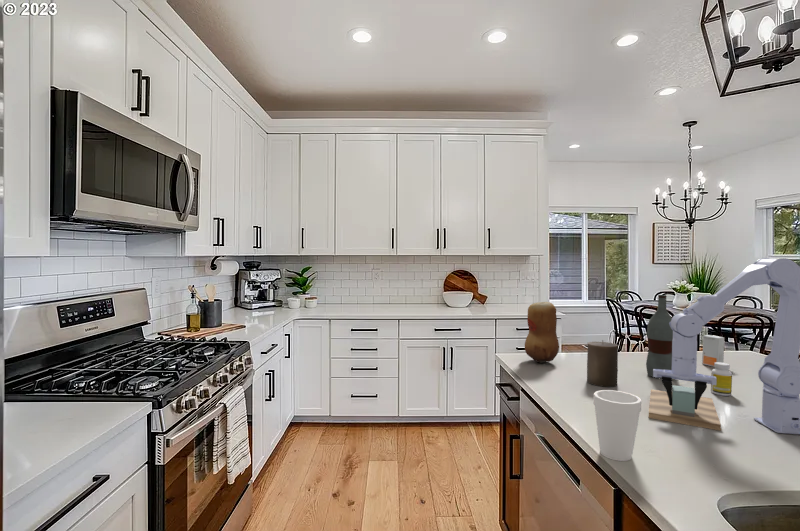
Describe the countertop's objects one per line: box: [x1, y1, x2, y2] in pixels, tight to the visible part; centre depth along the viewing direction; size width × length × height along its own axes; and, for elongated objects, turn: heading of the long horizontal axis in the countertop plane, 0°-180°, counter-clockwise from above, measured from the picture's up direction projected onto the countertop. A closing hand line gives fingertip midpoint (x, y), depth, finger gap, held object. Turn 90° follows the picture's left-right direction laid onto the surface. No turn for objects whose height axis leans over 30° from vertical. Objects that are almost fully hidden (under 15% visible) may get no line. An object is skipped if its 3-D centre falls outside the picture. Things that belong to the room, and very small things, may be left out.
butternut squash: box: [524, 301, 560, 364], centre depth 179 cm, size 14×13×25 cm
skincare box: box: [701, 334, 725, 368], centre depth 176 cm, size 6×4×12 cm
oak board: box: [648, 388, 722, 432], centre depth 125 cm, size 24×16×2 cm, turn 149°
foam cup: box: [593, 389, 642, 462], centre depth 97 cm, size 10×9×13 cm
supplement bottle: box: [710, 362, 733, 397], centre depth 140 cm, size 5×5×10 cm
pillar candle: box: [586, 339, 619, 388], centre depth 151 cm, size 10×10×15 cm
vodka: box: [645, 294, 673, 380], centre depth 160 cm, size 9×9×30 cm
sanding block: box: [672, 384, 695, 417], centre depth 120 cm, size 7×5×6 cm
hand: (682, 406), depth 120 cm, fingers closed on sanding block, 5 cm apart
